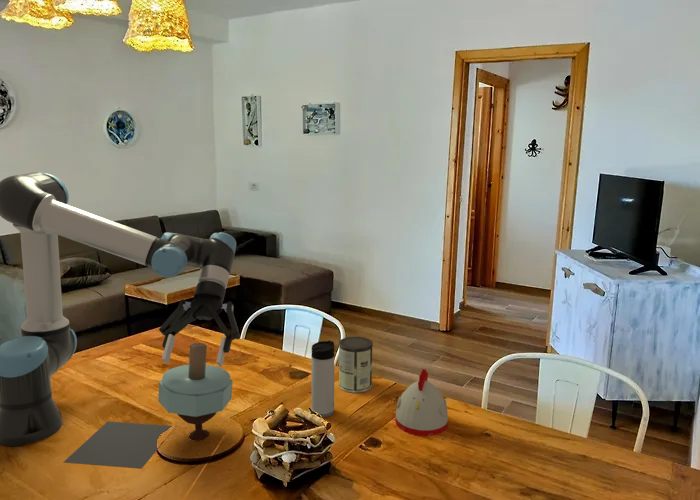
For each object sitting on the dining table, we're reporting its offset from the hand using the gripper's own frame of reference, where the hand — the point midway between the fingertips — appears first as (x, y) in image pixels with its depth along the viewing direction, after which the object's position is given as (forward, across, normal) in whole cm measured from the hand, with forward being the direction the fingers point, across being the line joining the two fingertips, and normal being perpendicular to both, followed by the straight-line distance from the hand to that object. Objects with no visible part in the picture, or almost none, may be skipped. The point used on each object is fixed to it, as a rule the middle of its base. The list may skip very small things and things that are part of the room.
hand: (191, 362), depth 134 cm
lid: (+6, 0, -9) cm, 11 cm away
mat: (+17, +17, -12) cm, 27 cm away
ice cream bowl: (+13, 0, -17) cm, 21 cm away
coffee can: (-12, -36, -41) cm, 56 cm away
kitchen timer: (+3, -56, -27) cm, 62 cm away
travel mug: (+1, -29, -29) cm, 41 cm away
